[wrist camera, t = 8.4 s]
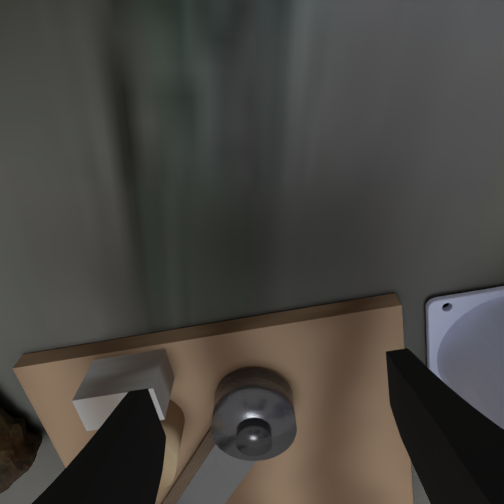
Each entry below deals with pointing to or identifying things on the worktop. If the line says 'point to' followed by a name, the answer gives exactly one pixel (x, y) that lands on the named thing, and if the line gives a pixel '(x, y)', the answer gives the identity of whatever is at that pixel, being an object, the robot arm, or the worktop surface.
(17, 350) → the worktop surface
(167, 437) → the beige cylinder plug
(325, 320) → the board
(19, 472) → the hand tool
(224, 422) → the lever
